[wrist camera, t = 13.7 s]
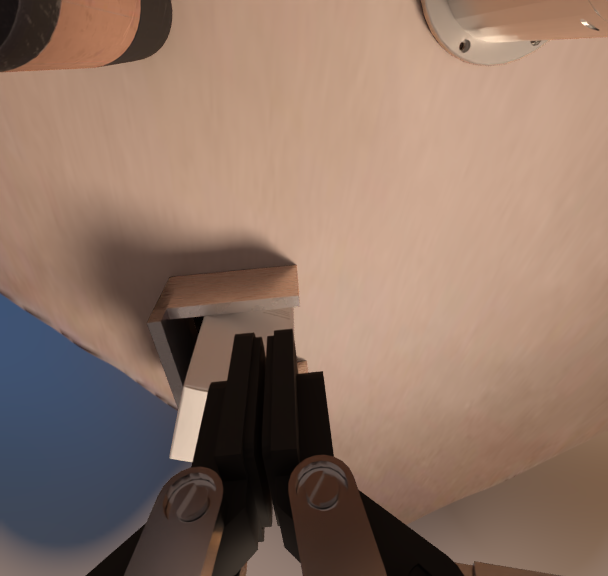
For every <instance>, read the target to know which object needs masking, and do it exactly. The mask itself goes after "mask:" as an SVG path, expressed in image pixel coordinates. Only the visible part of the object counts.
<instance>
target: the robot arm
mask: <svg viewBox="0 0 608 576" xmlns="http://www.w3.org/2000/svg"><path fill="white" fill-rule="evenodd" d="M421 3H422V8H423V12H424V17H425V19H426V21H427V24H428V26H429V28H430V31H431V33H432V34H433V36H434V37H435V39H436V40H437V41H438V43H439V44H440V45H441V46H442V47H443V48H444V49H445V50H446V51H447V52H448V53H449V54H451V55H452V56H454V57H456V58H458V59H460V60H461V61H463V62H467V63H471V64H475V65H485V66H493V65H503V64H507V63H510V62H513V61H517V60H520V59H522V58H524V57H525V56H527V55H529V54H531V53H533V52H535V51H536V50H538V49H539V48H540V47H542V46H543V45H544V44H546V43H547V42H548V41H550V40H559V39H579V38H599V37H608V0H421ZM530 41H532V42H530ZM460 43H463V48H462V49H461V50H459V45H460ZM272 505H273V506H274V511H275V515H276V520H277V524H278V526H280V528H281V533H282V538H283V542H284V546H285V548H286V549H287V550H288V551H289V552H290V553H291V554H292V555H293V556H294V557H295V558H296V559H297V560H298V561H299V562H300V563H301V568H302V574H303V576H560V575H554V574H548V573H542V572H536V571H530V570H524V569H518V568H512V567H506V566H500V565H493V564H487V563H482V562H476V561H474V563H473V565H468V564H461V563H456V562H453V561H452V560H451V559H450V558H449V557H448V556H447V555H446V554H444V553H443V552H441V551H440V550H439V549H438V548H436V547H435V546H433V545H432V544H431V543H429V542H428V541H427V540H425V539H424V538H423V537H421V536H420V535H419V534H417V533H416V532H415V531H413V530H411V528H409V527H408V526H407V525H405V524H404V523H402V522H401V521H400V520H398V519H397V518H396V517H394V516H393V515H392V514H390V513H389V512H388V511H386V510H385V509H384V508H382V507H381V506H380V505H378V504H377V503H375V502H374V501H373V500H371V499H370V498H369V497H367V496H366V495H365V494H363V493H362V492H361V491H359V490H358V487H357V485H356V482H355V479H354V476H353V474H352V472H351V470H350V468H349V467H348V466H347V465H346V464H345V463H344V462H343V461H341V460H339V459H337V458H335V457H334V454H333V447H332V439H331V431H330V423H329V415H328V408H327V400H326V392H325V384H324V376H323V371H321V372H311V373H301V374H298V366H297V358H296V350H295V342H294V334H293V329H283V330H274V335H273V336H267V348H266V355H265V350H264V344H263V339H262V337H256V336H255V333H254V332H253V333H242V334H235V336H234V342H233V348H232V354H231V360H230V366H229V371H228V377H227V381H218V382H211V384H210V386H209V389H208V393H207V398H206V403H205V407H204V412H203V416H202V421H201V425H200V430H199V434H198V439H197V444H196V448H195V453H194V457H193V462H192V466H191V468H188V469H186V470H183V471H181V472H179V473H178V474H176V475H175V476H173V477H172V478H171V479H170V480H169V481H168V482H167V483H166V484H165V485H164V486H163V488H162V490H161V491H160V493H159V495H158V497H157V499H156V502H155V504H154V506H153V508H152V511H151V513H150V516H149V518H148V520H147V522H146V524H145V525H143V526H142V527H141V528H140V529H139V530H138V531H137V532H135V533H134V534H133V535H132V536H131V537H130V538H128V539H127V540H126V541H125V542H124V543H123V544H122V545H121V546H119V547H118V548H117V549H116V550H115V551H114V552H112V553H111V554H110V555H109V556H108V557H107V558H106V559H104V560H103V561H102V562H101V563H100V564H99V565H97V567H95V568H94V569H93V570H92V571H91V572H89V573H88V574H87V575H86V576H246V572H247V561H248V560H249V559H250V558H251V557H252V556H253V555H254V553H255V552H256V551H257V550H258V542H263V541H264V527H271V526H272V509H273V507H272Z"/></svg>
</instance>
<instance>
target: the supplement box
mask: <svg viewBox="0 0 608 576" xmlns="http://www.w3.org/2000/svg"><path fill="white" fill-rule="evenodd" d="M283 329H293V334H294V307H291V308H280V309H270V310H260V311H250V312H239V313H229V314H219V315H209V316H204V319H203V322H202V325H201V328H200V332H199V335H198V338H197V341H196V345H195V348H194V352H193V355H192V358H191V362H190V365H189V368H188V372H187V375H186V379H185V382H184V386H183V390H182V394H181V399H180V404H179V409H178V414H177V419H176V424H175V429H174V435H173V440H172V445H171V451H170V459H177V460H182V461H189V462H193V457H194V453H195V448H196V444H197V439H198V434H199V430H200V425H201V421H202V416H203V412H204V407H205V403H206V398H207V393H208V389H209V386H210V384H211V382H218V381H227V377H228V371H229V366H230V360H231V354H232V348H233V342H234V336H235V334H242V333H253V332H254V333H255V336H256V337H262V339H263V344H264V350H265V355H266V348H267V336H273V335H274V330H283ZM294 342H295V338H294Z"/></svg>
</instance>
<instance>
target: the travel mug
mask: <svg viewBox="0 0 608 576" xmlns="http://www.w3.org/2000/svg"><path fill="white" fill-rule="evenodd" d="M171 23H172V4H171V0H0V72H17V71H37V70H57V69H78V68H94V67H102V66H108V65H114V64H120V63H126V62H132V61H136V60H141V59H144V58H147V57H149V56H151V55H153V54H154V53H156V52H157V51H158V50H159V49H160V48H161V47H162V46H163V44H164V43H165V41H166V39H167V37H168V35H169V32H170V28H171Z"/></svg>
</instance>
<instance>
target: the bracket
mask: <svg viewBox="0 0 608 576" xmlns="http://www.w3.org/2000/svg"><path fill="white" fill-rule="evenodd" d="M291 307H300V300H299V286H298V273H297V265H289V266H279V267H269V268H258V269H248V270H238V271H228V272H217V273H207V274H197V275H187V276H177V277H170V278H169V280H168V282H167V284H166V286H165V288H164V290H163V292H162V294H161V296H160V298H159V300H158V302H157V304H156V306H155V308H154V310H153V312H152V314H151V316H150V318H149V320H148V322H147V325H148V328H149V330H150V333H151V336H152V338H153V341H154V344H155V347H156V349H157V352H158V355H159V358H160V360H161V363H162V366H163V369H164V371H165V374H166V377H167V380H168V382H169V385H170V388H171V391H172V393H173V396H174V399H175V402H176V404H177V407H178V409H179V404H180V399H181V394H182V390H183V386H184V382H185V379H186V375H187V372H188V368H189V365H190V362H191V358H192V355H193V352H194V348H195V345H196V341H197V338H198V333H197V329H196V326H195V322H194V319H193V317H198V316H209V315H219V314H229V313H239V312H250V311H260V310H270V309H280V308H291ZM297 366H298V374H301V373H308V367H307V361H302V362H297Z"/></svg>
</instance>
